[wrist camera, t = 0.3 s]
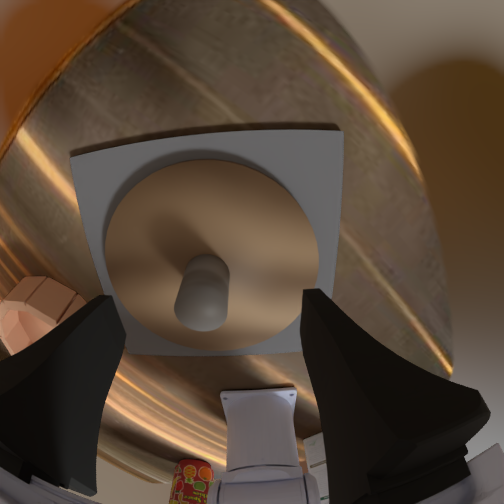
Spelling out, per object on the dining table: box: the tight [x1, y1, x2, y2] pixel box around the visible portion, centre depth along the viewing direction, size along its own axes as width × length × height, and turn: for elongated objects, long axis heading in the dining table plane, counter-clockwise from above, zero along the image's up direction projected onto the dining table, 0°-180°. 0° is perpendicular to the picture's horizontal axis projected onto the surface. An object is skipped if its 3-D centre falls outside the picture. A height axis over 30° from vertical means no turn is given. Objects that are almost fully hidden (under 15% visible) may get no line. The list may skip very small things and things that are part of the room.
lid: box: [105, 159, 319, 351], centre depth 17 cm, size 15×15×5 cm
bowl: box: [0, 276, 87, 355], centre depth 21 cm, size 13×13×4 cm
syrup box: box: [303, 432, 329, 504], centre depth 28 cm, size 6×6×14 cm
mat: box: [70, 129, 344, 356], centre depth 20 cm, size 18×18×1 cm
